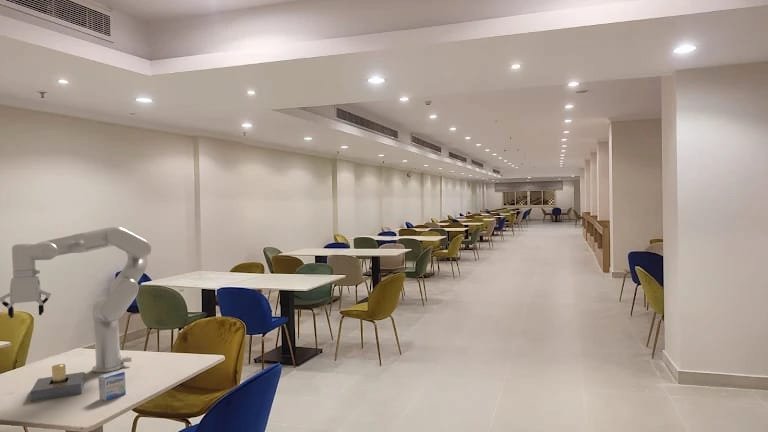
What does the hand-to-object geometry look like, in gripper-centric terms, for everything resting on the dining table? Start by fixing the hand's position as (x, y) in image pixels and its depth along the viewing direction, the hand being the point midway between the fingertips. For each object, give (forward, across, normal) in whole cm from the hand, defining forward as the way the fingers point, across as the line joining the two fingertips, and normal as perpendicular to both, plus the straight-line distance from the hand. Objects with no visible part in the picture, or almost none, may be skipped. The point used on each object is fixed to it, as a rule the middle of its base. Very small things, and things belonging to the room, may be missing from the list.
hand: (26, 316), depth 208 cm
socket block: (+28, -12, +15) cm, 34 cm away
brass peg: (+28, -12, +15) cm, 34 cm away
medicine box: (+29, -31, +33) cm, 54 cm away
